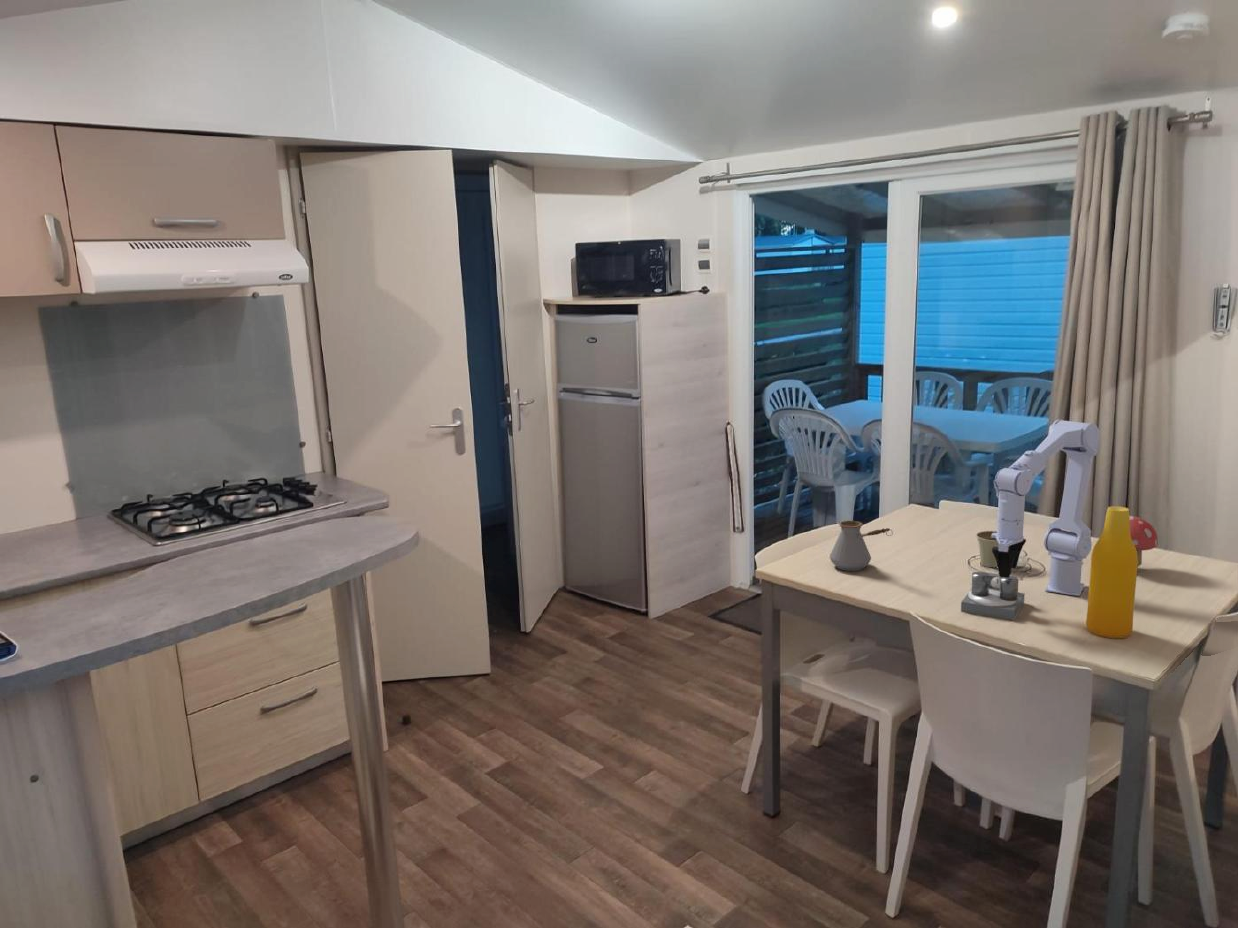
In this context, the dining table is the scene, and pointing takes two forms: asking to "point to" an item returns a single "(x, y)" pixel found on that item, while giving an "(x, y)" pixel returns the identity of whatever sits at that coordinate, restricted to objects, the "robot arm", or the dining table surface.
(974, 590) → the ball
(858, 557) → the coffee pot
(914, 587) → the dining table surface
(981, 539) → the flower pot
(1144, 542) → the decorative mushroom
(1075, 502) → the robot arm
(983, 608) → the dial scale
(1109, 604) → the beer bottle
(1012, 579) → the cylinder
